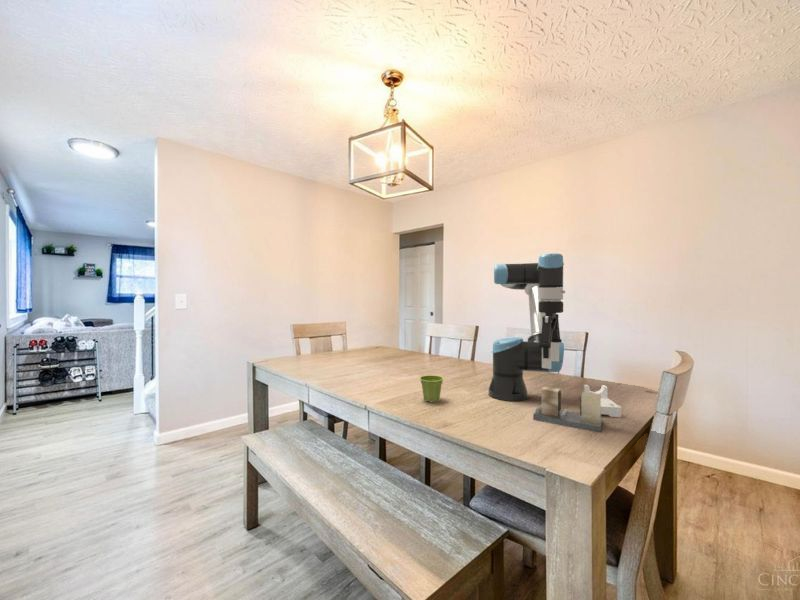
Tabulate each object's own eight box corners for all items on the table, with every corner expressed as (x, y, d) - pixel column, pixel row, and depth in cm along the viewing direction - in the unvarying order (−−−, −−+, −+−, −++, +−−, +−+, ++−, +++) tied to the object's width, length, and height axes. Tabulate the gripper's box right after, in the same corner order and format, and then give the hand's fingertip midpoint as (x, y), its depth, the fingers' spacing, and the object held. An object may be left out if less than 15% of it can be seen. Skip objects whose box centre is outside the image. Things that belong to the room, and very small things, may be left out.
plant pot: (448, 401, 131) (448, 379, 131) (427, 405, 126) (427, 382, 126) (435, 395, 139) (435, 374, 139) (415, 398, 135) (415, 376, 135)
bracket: (583, 404, 127) (583, 384, 127) (604, 405, 126) (604, 385, 125) (598, 416, 114) (598, 394, 114) (621, 418, 113) (621, 395, 113)
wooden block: (561, 412, 113) (561, 388, 113) (559, 416, 110) (559, 391, 109) (544, 409, 116) (544, 386, 116) (541, 413, 113) (541, 389, 112)
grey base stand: (533, 419, 111) (533, 390, 111) (540, 410, 119) (540, 383, 119) (600, 432, 100) (600, 400, 100) (602, 421, 109) (602, 392, 109)
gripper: (556, 301, 100) (556, 373, 100) (569, 299, 121) (569, 359, 121) (529, 301, 104) (529, 370, 105) (546, 299, 125) (546, 357, 125)
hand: (550, 364), depth 113 cm, fingers open, 13 cm apart
